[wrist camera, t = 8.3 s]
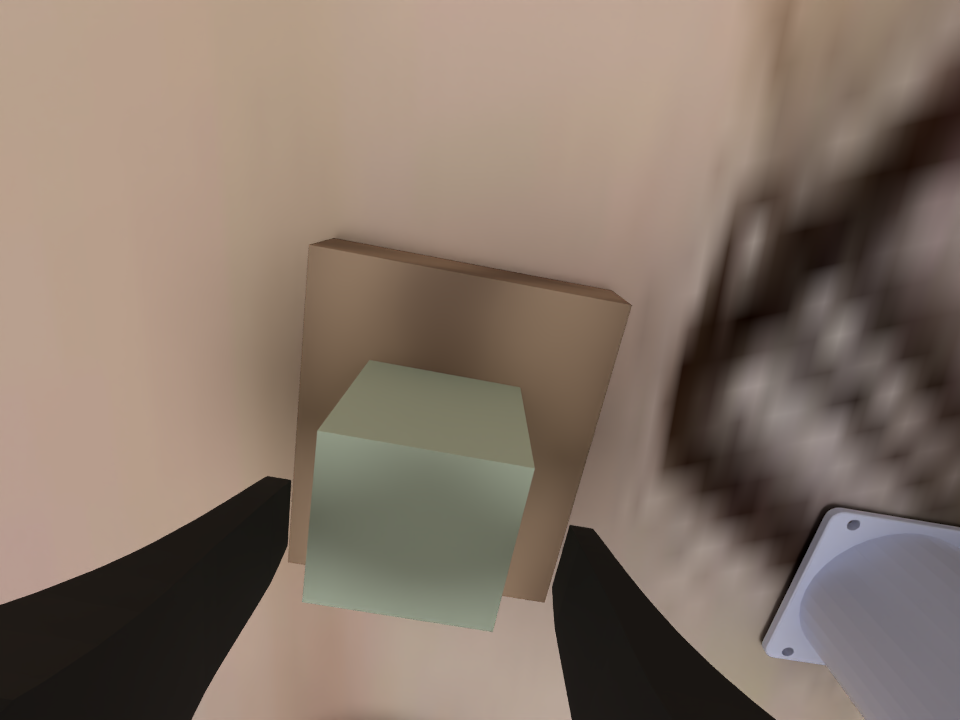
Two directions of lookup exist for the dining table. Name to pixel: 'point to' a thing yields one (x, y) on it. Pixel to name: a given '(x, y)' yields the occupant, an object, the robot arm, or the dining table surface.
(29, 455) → the dining table surface
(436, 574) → the sage cube
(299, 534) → the walnut block
